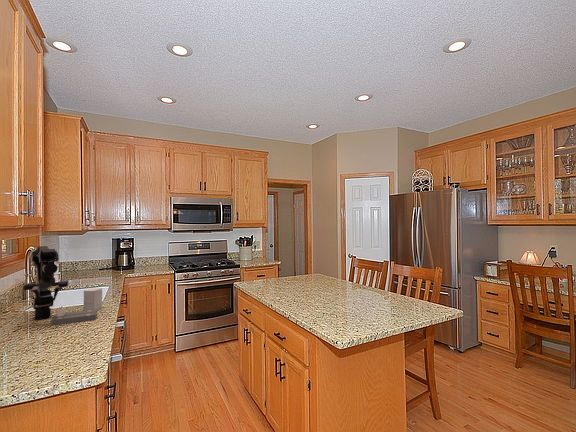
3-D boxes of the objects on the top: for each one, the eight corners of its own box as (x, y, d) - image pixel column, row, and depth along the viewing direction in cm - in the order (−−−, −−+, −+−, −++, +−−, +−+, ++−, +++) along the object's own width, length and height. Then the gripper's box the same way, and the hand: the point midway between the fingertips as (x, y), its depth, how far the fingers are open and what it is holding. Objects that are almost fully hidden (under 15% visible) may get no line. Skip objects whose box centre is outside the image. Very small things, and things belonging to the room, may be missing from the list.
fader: (56, 317, 167) (57, 308, 167) (58, 314, 172) (58, 306, 172) (63, 316, 169) (63, 308, 169) (65, 313, 173) (65, 305, 173)
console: (50, 325, 163) (51, 319, 163) (55, 319, 174) (55, 314, 174) (95, 320, 173) (95, 314, 173) (96, 314, 183) (96, 309, 183)
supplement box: (102, 308, 197) (102, 288, 198) (94, 311, 190) (94, 290, 190) (91, 307, 198) (92, 287, 198) (83, 310, 191) (83, 290, 191)
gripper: (21, 275, 156) (20, 306, 156) (66, 273, 165) (65, 302, 165) (27, 272, 166) (26, 301, 166) (69, 270, 175) (68, 297, 174)
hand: (46, 301), depth 167 cm, fingers open, 6 cm apart
